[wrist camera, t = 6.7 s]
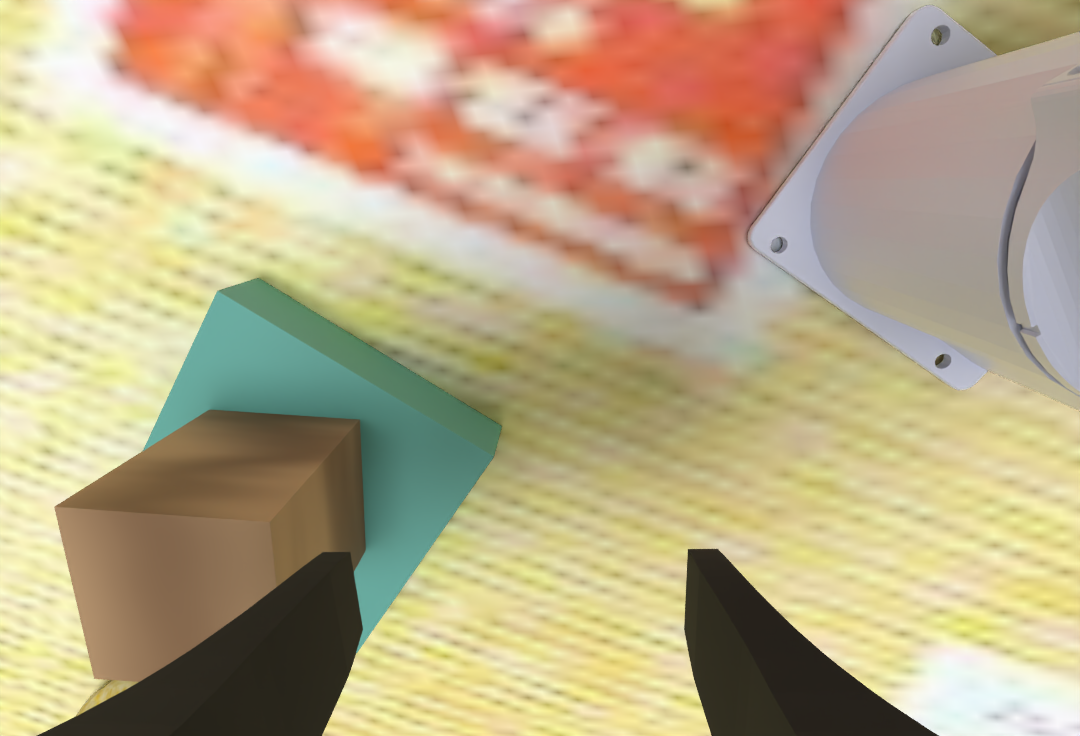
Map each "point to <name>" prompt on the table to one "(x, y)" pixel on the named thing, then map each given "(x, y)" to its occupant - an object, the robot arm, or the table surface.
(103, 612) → the walnut block
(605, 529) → the table surface
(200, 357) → the teal base
